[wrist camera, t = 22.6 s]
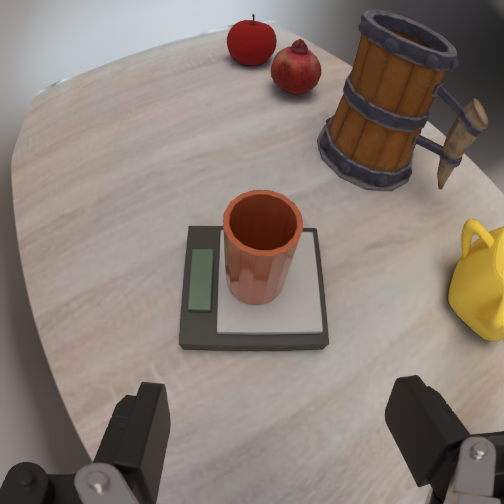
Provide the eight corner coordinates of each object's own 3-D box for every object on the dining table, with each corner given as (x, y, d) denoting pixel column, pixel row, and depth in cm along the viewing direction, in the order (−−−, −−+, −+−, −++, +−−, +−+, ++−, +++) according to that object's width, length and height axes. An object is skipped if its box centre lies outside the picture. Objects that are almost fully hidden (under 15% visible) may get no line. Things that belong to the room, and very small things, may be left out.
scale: (182, 349, 28) (177, 341, 26) (191, 237, 34) (187, 221, 32) (322, 349, 29) (331, 342, 26) (312, 239, 35) (318, 223, 32)
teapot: (427, 241, 36) (470, 189, 27) (495, 248, 36) (538, 206, 27) (447, 351, 29) (509, 320, 20) (517, 341, 29) (572, 312, 20)
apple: (216, 61, 53) (215, 16, 45) (245, 47, 57) (247, 6, 48) (255, 76, 51) (259, 27, 42) (283, 60, 55) (288, 16, 46)
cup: (225, 305, 28) (221, 255, 20) (226, 252, 30) (224, 189, 22) (285, 305, 28) (306, 256, 20) (282, 252, 30) (298, 191, 23)
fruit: (323, 90, 50) (334, 41, 41) (304, 110, 46) (315, 56, 38) (282, 75, 52) (288, 27, 43) (259, 93, 48) (264, 40, 39)
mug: (448, 178, 42) (510, 76, 24) (416, 234, 36) (504, 111, 19) (348, 110, 47) (379, 1, 30) (296, 148, 42) (322, 10, 24)
